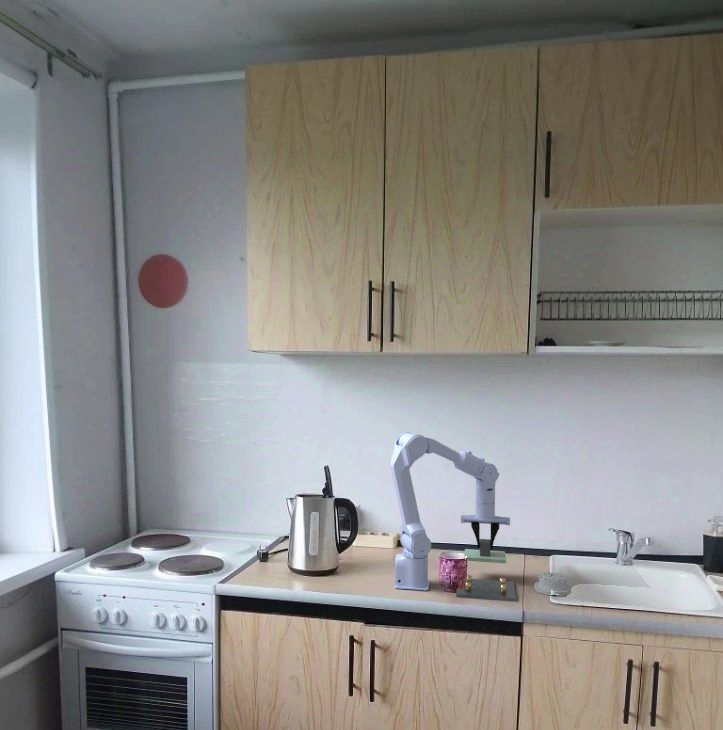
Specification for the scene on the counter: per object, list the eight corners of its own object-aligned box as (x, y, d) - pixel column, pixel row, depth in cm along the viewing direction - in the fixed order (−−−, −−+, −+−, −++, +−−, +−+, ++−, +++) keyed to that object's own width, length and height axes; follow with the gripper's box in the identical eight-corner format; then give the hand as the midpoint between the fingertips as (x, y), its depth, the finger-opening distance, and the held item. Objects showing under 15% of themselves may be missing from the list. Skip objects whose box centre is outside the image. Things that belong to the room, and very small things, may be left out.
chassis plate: (456, 597, 169) (456, 586, 169) (458, 580, 183) (458, 571, 183) (516, 601, 166) (516, 590, 166) (513, 584, 180) (513, 574, 180)
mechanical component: (576, 590, 176) (542, 582, 182) (576, 574, 176) (542, 567, 182) (563, 600, 168) (528, 591, 175) (563, 583, 168) (528, 576, 175)
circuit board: (464, 560, 182) (464, 543, 182) (464, 552, 190) (465, 536, 190) (506, 563, 180) (506, 546, 180) (504, 554, 188) (504, 538, 188)
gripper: (509, 500, 188) (509, 545, 188) (461, 498, 190) (460, 542, 190) (510, 505, 181) (510, 552, 181) (460, 503, 184) (460, 549, 183)
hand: (485, 547), depth 185 cm, fingers closed on circuit board, 3 cm apart
